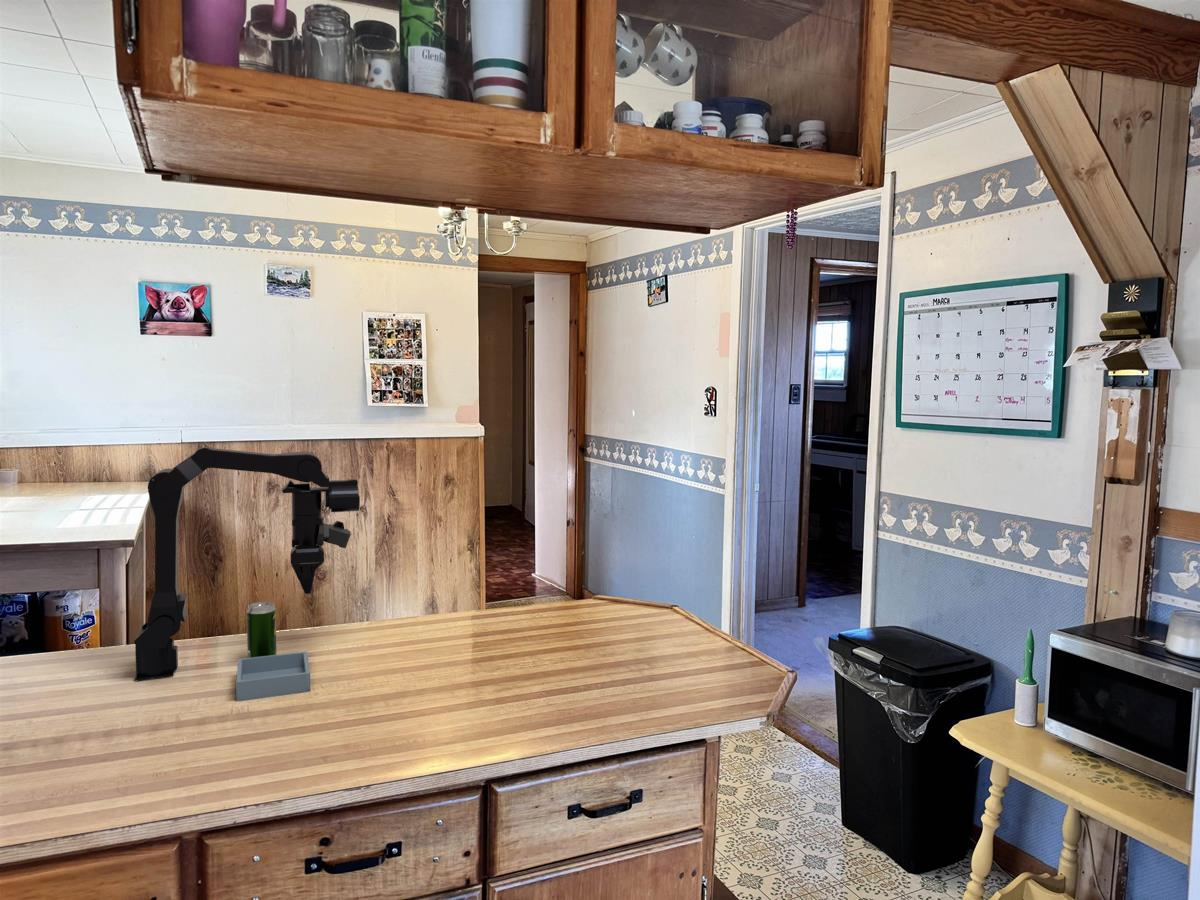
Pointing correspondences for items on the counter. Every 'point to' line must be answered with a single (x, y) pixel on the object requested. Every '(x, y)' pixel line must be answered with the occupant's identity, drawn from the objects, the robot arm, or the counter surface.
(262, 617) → the beer can
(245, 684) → the box
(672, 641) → the counter surface
